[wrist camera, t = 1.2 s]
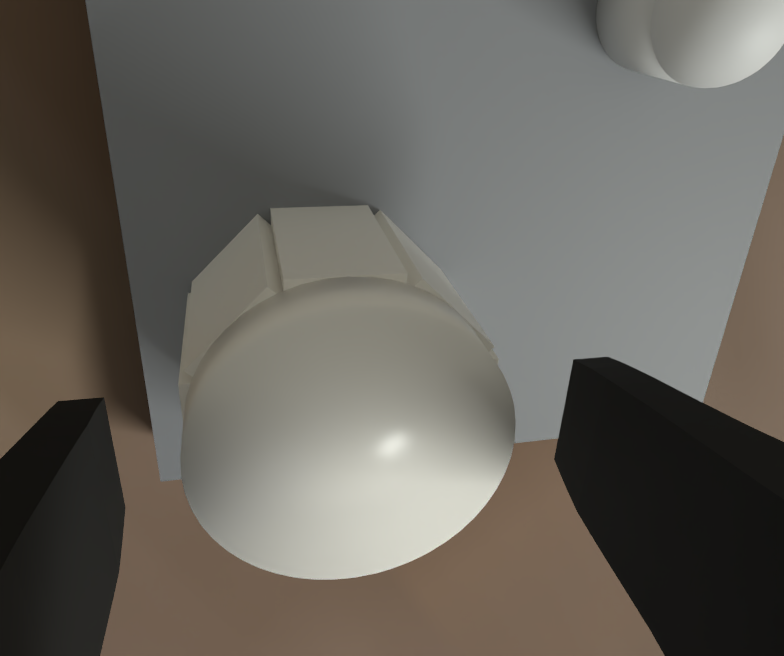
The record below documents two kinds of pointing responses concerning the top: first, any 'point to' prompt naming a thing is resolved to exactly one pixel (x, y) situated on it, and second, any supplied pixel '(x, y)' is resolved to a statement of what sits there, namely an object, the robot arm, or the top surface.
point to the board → (457, 163)
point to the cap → (336, 397)
